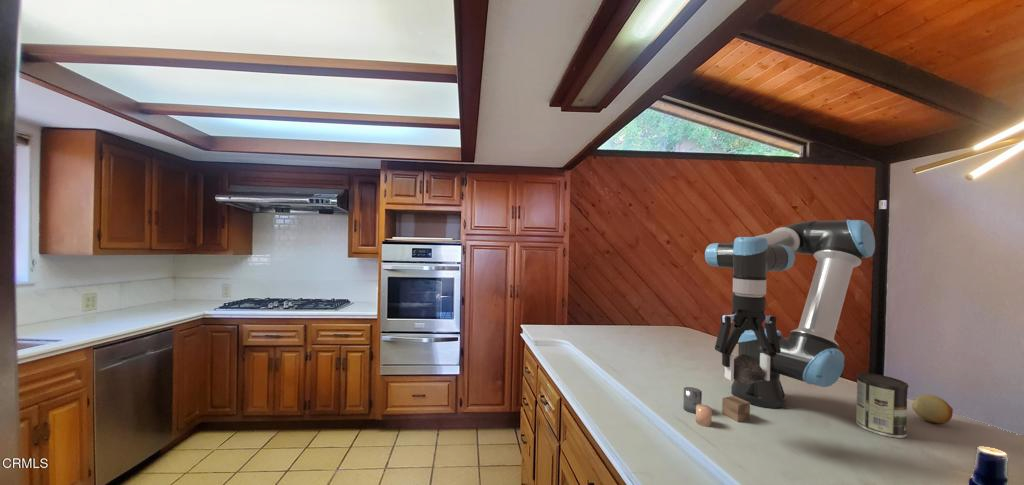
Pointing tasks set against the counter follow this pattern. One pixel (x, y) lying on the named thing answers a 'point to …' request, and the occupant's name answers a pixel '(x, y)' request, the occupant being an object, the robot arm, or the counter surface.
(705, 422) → the peach rounded capsule
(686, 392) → the metal tin
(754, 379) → the stone
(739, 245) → the robot arm
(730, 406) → the walnut block
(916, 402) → the fruit
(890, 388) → the coffee can
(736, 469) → the counter surface
